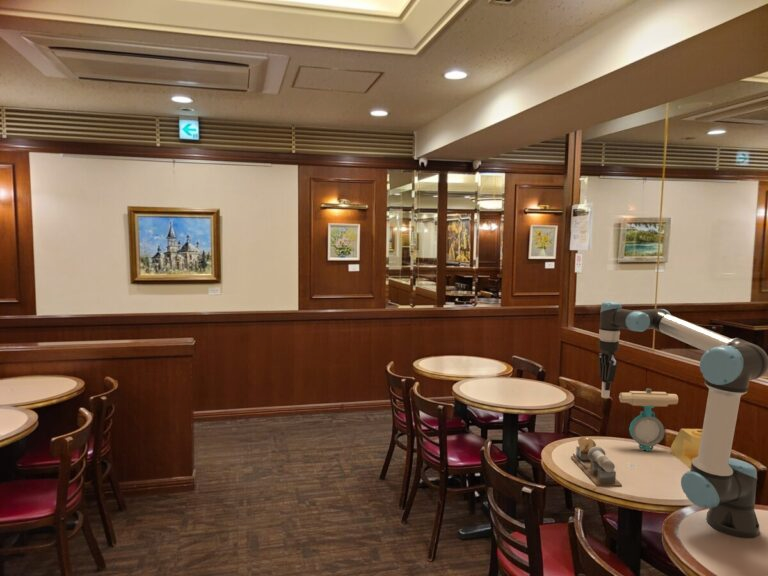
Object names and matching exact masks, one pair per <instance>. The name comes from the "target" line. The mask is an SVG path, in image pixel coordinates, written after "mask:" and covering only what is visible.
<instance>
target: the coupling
mask: <svg viewBox="0 0 768 576" xmlns="http://www.w3.org/2000/svg"><path fill="white" fill-rule="evenodd" d="M577 444H578V446H576V448H575V455H576V456H577V457H578V458H579V459H580V460H581V461H590V460H589V458H588V452H589V450H590V449H591V448H592V447H595V446H597V445H596V442H595V441H594V440H593V439H592V438H590V437H589V438H588V437H585V436H583V437H579V438H578V440H577Z"/></svg>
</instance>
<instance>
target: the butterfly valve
mask: <svg viewBox="0 0 768 576" xmlns="http://www.w3.org/2000/svg"><path fill="white" fill-rule="evenodd" d="M652 390H653V389H652V388H648V387H647V388H646V389H645V390H644V391H642V390H641V391H640V390H629V392H620V393H618V399H619V402H620V403H624V404H625V403H626V404H629V405H631V406H636V407H639V406H640V407H643V408H644V409H643V410H642V411H639V414H638V415H637V416H636V417H634V418H633V420H632V421H631V422H630V424H629V428H628V430H629V434H630V436H631V438H632V439H633V440H634V441H635V442H636V443H637V444H638V447H639V449H640V450H643V451H644V450H646V451H645V452H649V451H650V450H651V451H652V450H653V449H654V446H656V445H658V444H659V443H661V441H662V440H663V439H664V436H665V433H666V430H665V426H664V424H663V423H662V422H661V420H660V419H659V418H658V417H656V413H655V412H654V411H652V409H654V408H655V407H668V406H669V405H678V403H679V395H677V394H676V393H667V392H666V391H652Z"/></svg>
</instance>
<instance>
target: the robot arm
mask: <svg viewBox="0 0 768 576" xmlns="http://www.w3.org/2000/svg"><path fill="white" fill-rule="evenodd" d="M599 314H600V317H599V318H600V319H599V329H598V332H599V333H598V339H599V340H598V346H597V347H598V349H599V350H601V352H600V353H598V354H597V357H598V372H599V378H600V379H601V381H602V382H601V394H600V395H601V396H600V397H601V398H603V399H610V392H611V383H614V381H615V377H616V371H617V366H618V363H619V360H616V359H615V358H616V354H615V353H616V352H619V348H620V346H619V345H620V342H619V340H620V335H621V329H623V330H628V331H632V332H640V333H641V332H645V331H646V330H651V329H653V330H656V331H657V332H660V333H661V334H664V335H667V336H669V337H671V338H674V339H676V340H678V341H680V342H683V343H685V344H688V345H689V346H691V347H694V348H697V349H699V350H701V351H703V352H704V353H703V354H702V356H701V357H700V361H699V369H700V373H702V377H703V378H704V385H705V386H706V387H707V388H708V393H707V394H708V395H707V399H706V406H705V412H704V417H703V423H702V424H703V425H702V428H701V429H702V436H701V442H700V448H699V454H698V457H695V458H693V459H692V463H691V468H690V470H689V471H687V472H685V473H684V474H683V475H682V476H681V478H680V479H681V480H680V485H681V489H682V492H683V493H684V494H685V496H686V498H687V499H688V500H689V501H690V502H691V503H692V504H693V505H696V506H697V507H699V508H701V509H702V508H703V509H708V511H706V512H707V513H706V519H705V520H707V521H706V523H707V522H708V523H707V524H708V525H709V526H710V527H712V528H713V529H715V530H716V531H718V532H721V533H723V534H726V535H728V536H732V537H736V538H742V539H752V538H757V537H759V535H760V523H759V521H758V516H757V514H756V511H755V505H756V491H757V481H758V477H757V476H758V474H757V473H758V470H757V468H756V467H755V466H754V465H752V464H751V463H750V462H749V463H748V462H747V461H744V460H740V459H737V458H733V457H731V453H732V448H733V442H734V436H735V430H736V424H737V420H738V413H739V409H740V408H739V406H740V402H741V397H742V396H743V395H745V394H747V393H748V390H749V386H750V381H754V380H757V379H759V378H761V377H762V376H764V375H765V374H766V373H767V371H768V354H767V352H766V351H765V350H764V349H763V348H762V347H760V346H759V345H757V344H754V343H752V342H749V341H746V340H744V339H741V338H739V337H735V338H730V337H728V336H725V335H722V334H720V333H718V332H715V331H713V330H710V329H707V328H705V327H703V326H700V325H698V324H694V323H692V322H689V321H687V320H685V319H682V318H679V317H677V316H675V315H672V314H671V313H670V311H669V310H667V309H664V308H653V309H634V310H631V309H624V308H623V307H622V303H621V302H616V301H602V303H601V306H600V312H599Z"/></svg>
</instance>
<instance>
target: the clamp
mask: <svg viewBox="0 0 768 576" xmlns="http://www.w3.org/2000/svg"><path fill="white" fill-rule="evenodd" d="M679 429H680V430H679V431H678V433H677V434H676V436H675V438H674V440H673V442H672V444H671V447H670V453H671V454H672V455H673V456H674V457H675V456H676V457H675V458H676V459H678V460H679V461H680V462H681V463H682V464H684V465H685V466H686V467H688V468H690V469H691V463H692V459H693V458H695V457H698V454H699V448H700V442H701V436H702V429H703V428H679Z"/></svg>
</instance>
